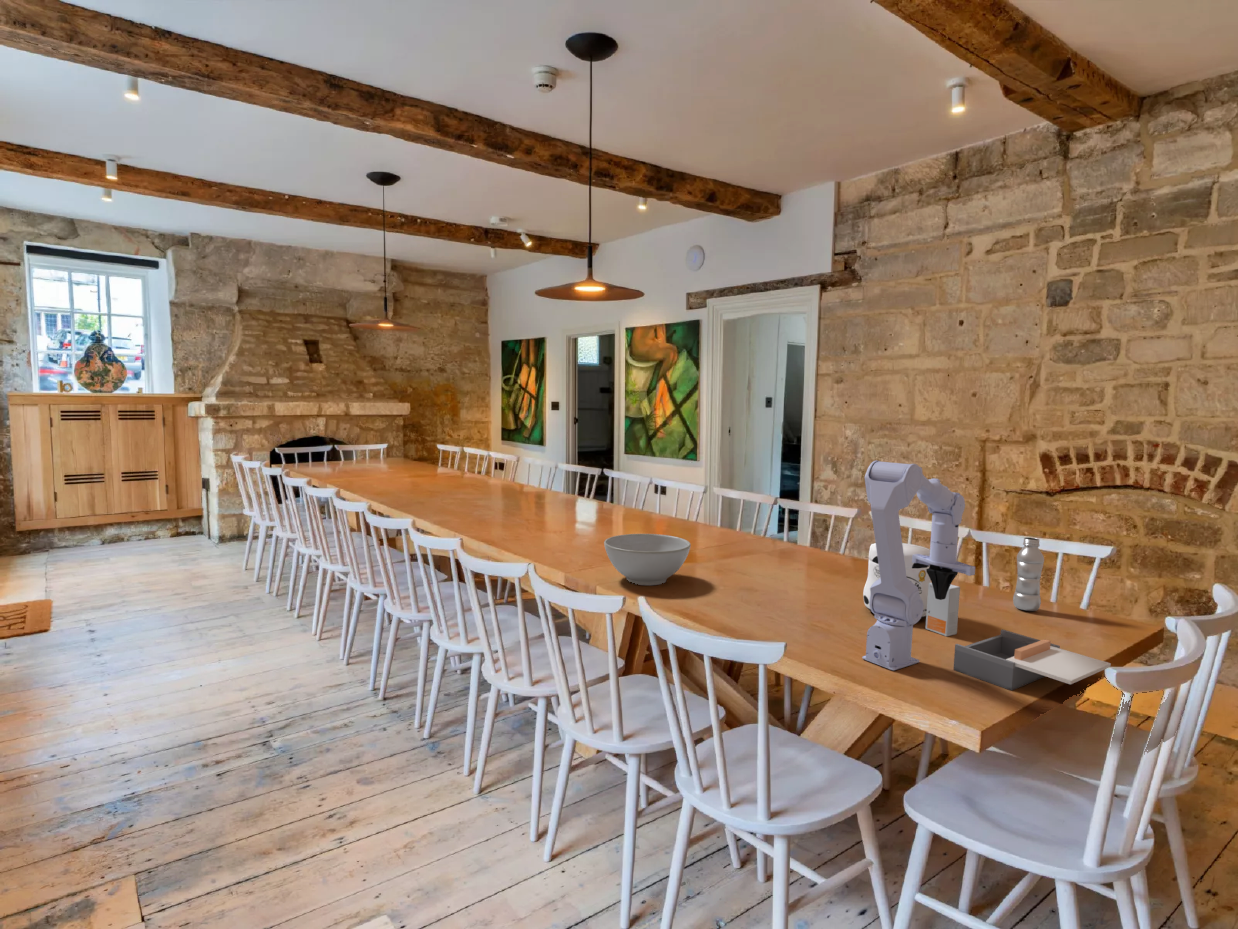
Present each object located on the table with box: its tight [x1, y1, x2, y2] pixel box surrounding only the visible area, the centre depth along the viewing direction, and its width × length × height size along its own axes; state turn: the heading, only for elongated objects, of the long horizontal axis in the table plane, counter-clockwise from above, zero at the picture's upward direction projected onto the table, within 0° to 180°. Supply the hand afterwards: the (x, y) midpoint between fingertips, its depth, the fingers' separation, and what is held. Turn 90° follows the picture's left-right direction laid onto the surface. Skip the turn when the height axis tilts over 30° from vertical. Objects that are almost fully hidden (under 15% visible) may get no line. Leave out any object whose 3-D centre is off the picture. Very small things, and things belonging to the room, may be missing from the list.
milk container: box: [862, 542, 931, 620], centre depth 181 cm, size 17×17×18 cm
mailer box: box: [953, 629, 1061, 692], centre depth 144 cm, size 19×12×6 cm, turn 123°
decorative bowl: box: [603, 533, 691, 586], centre depth 211 cm, size 27×27×12 cm
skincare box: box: [925, 582, 961, 637], centre depth 168 cm, size 6×4×12 cm
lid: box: [1006, 638, 1112, 685], centre depth 136 cm, size 17×12×2 cm
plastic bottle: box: [1012, 537, 1045, 612], centre depth 187 cm, size 6×7×20 cm
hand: (940, 598), depth 161 cm, fingers closed
